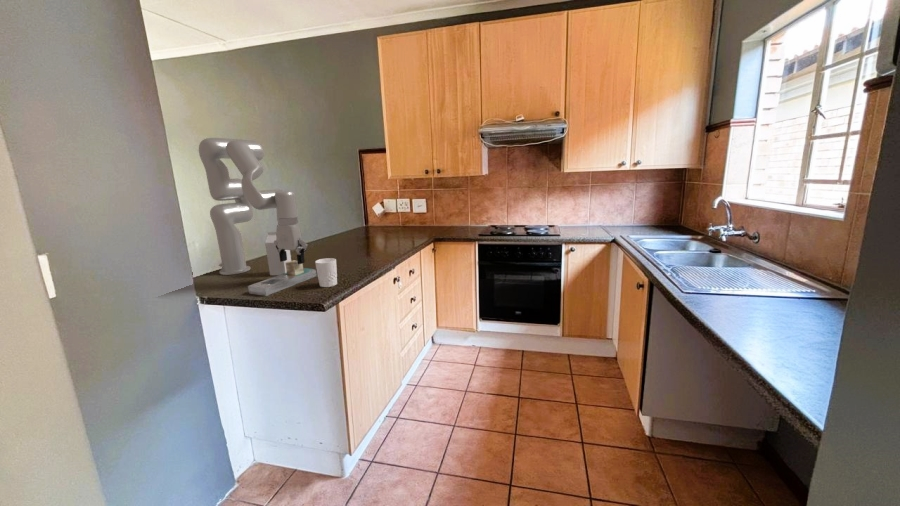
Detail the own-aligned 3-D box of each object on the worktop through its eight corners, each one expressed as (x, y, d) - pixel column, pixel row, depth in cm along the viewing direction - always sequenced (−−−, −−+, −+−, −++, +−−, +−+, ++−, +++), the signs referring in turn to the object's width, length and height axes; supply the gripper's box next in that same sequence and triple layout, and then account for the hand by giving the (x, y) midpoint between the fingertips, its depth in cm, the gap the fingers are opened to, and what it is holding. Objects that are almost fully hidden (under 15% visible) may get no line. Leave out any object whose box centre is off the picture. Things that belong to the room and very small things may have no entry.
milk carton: (285, 275, 160) (279, 233, 156) (270, 275, 161) (263, 233, 156) (292, 271, 167) (287, 230, 163) (277, 271, 168) (271, 230, 163)
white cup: (342, 282, 148) (339, 258, 145) (331, 288, 140) (328, 263, 138) (325, 281, 150) (322, 257, 147) (313, 287, 142) (310, 262, 140)
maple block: (288, 281, 152) (285, 262, 150) (296, 278, 156) (294, 260, 154) (296, 282, 150) (293, 263, 148) (304, 279, 154) (302, 260, 152)
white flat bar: (266, 295, 134) (264, 287, 133) (249, 293, 138) (247, 285, 137) (316, 276, 157) (315, 269, 157) (300, 274, 161) (300, 267, 160)
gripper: (264, 221, 147) (269, 262, 151) (296, 224, 141) (301, 266, 145) (279, 219, 154) (284, 257, 158) (311, 221, 147) (315, 262, 152)
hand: (292, 262), depth 151 cm, fingers open, 9 cm apart
